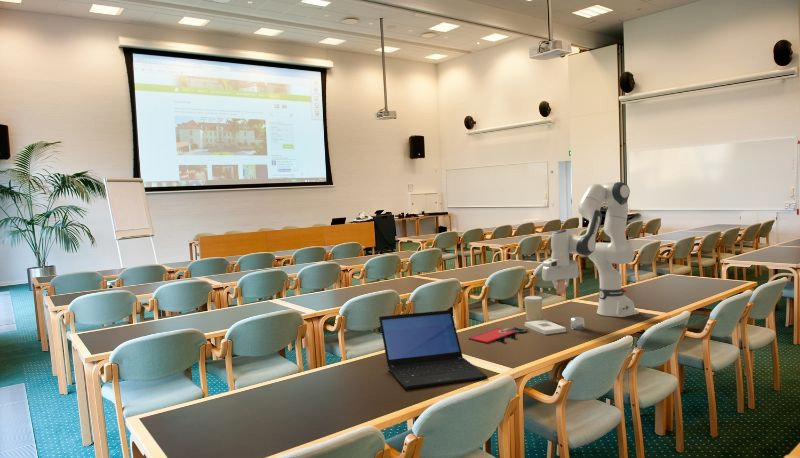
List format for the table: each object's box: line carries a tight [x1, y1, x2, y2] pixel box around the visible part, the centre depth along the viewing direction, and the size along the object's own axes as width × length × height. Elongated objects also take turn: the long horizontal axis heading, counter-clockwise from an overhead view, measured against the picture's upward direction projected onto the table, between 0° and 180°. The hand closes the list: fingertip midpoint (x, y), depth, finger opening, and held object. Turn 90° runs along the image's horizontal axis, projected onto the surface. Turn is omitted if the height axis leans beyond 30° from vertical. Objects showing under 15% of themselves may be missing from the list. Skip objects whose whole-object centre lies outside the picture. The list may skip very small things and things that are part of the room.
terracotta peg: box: [556, 279, 566, 295], centre depth 281 cm, size 4×4×7 cm
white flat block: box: [524, 319, 567, 336], centre depth 274 cm, size 12×18×2 cm, turn 18°
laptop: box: [378, 309, 488, 390], centre depth 220 cm, size 33×38×19 cm
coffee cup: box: [524, 295, 543, 322], centre depth 292 cm, size 9×9×12 cm
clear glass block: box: [570, 316, 585, 331], centre depth 273 cm, size 6×6×5 cm
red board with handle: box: [468, 327, 528, 345], centre depth 264 cm, size 30×3×15 cm
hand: (560, 287), depth 281 cm, fingers closed on terracotta peg, 4 cm apart
